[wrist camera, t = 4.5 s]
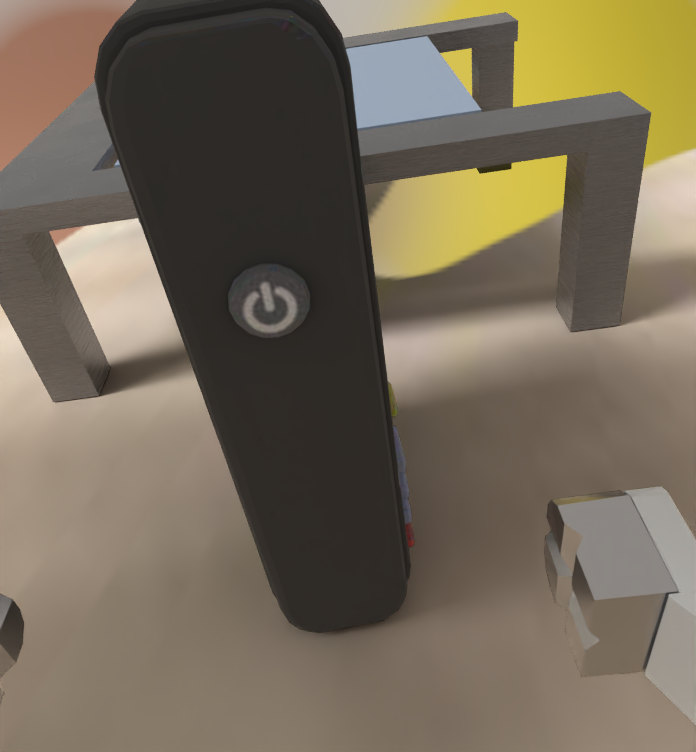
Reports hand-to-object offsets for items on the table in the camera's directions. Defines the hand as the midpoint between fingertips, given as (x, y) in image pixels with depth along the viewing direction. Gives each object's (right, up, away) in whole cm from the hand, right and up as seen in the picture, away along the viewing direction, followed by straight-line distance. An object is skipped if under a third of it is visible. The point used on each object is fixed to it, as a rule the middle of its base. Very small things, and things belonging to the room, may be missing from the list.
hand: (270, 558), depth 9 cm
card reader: (+1, -2, +11) cm, 12 cm away
